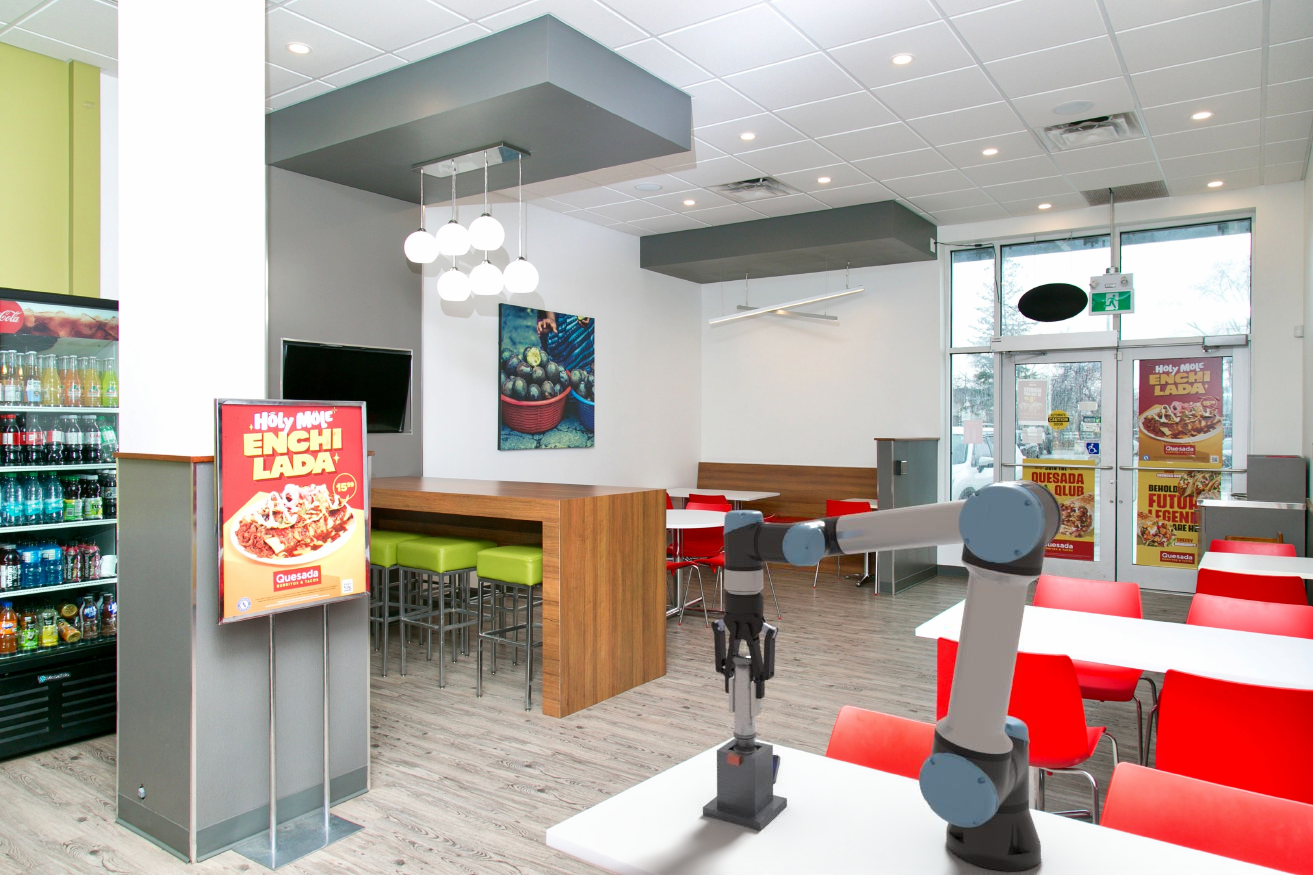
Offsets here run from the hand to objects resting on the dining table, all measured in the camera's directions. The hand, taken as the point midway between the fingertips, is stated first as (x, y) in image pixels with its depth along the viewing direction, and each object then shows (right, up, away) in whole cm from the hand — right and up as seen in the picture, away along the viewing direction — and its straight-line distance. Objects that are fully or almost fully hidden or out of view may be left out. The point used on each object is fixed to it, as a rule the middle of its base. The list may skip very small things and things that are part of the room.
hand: (744, 712), depth 156 cm
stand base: (0, -19, 0) cm, 19 cm away
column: (0, -12, 0) cm, 12 cm away
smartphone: (+6, -20, +20) cm, 28 cm away
